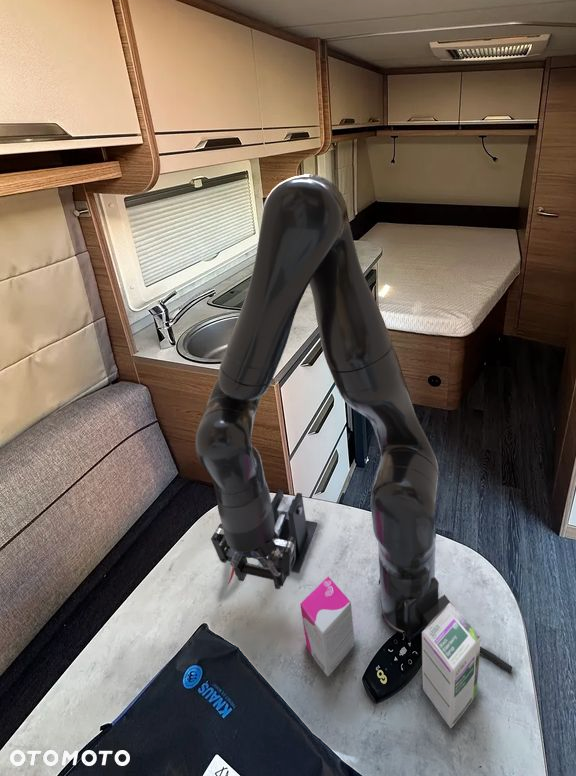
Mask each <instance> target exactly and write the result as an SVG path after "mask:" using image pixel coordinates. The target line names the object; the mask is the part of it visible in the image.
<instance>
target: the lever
mask: <svg viewBox="0 0 576 776" xmlns="http://www.w3.org/2000/svg"><path fill="white" fill-rule="evenodd" d="M294 499H295V497H291V496H290V497H289V496H285V495H284V496H283V498H282V500H281V502H280V505H279V507H278V509H277V512H278V515H279V517H278V520H277V522H276V524H275V532H276V533H277V535H278V536H279V534H280V532H281V529H282V527H283V524H284V522H285V519H288V520H289V516H288V512H289V510H290V508H291V505H292V503H293V501H294ZM267 558H268V557H267ZM242 573H245V574H247V575H248V576H249V575H250V576H254V577H259V578H263V579H267V580H272V581H274V580H273V574H272V572H271V571H270V570H269V568H268V569H265V568H264V567H263V566H262V565H261V563H260V562H259V561H258V564H254V563H249V562H248V563H244V564H243V567H242Z"/></svg>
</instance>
